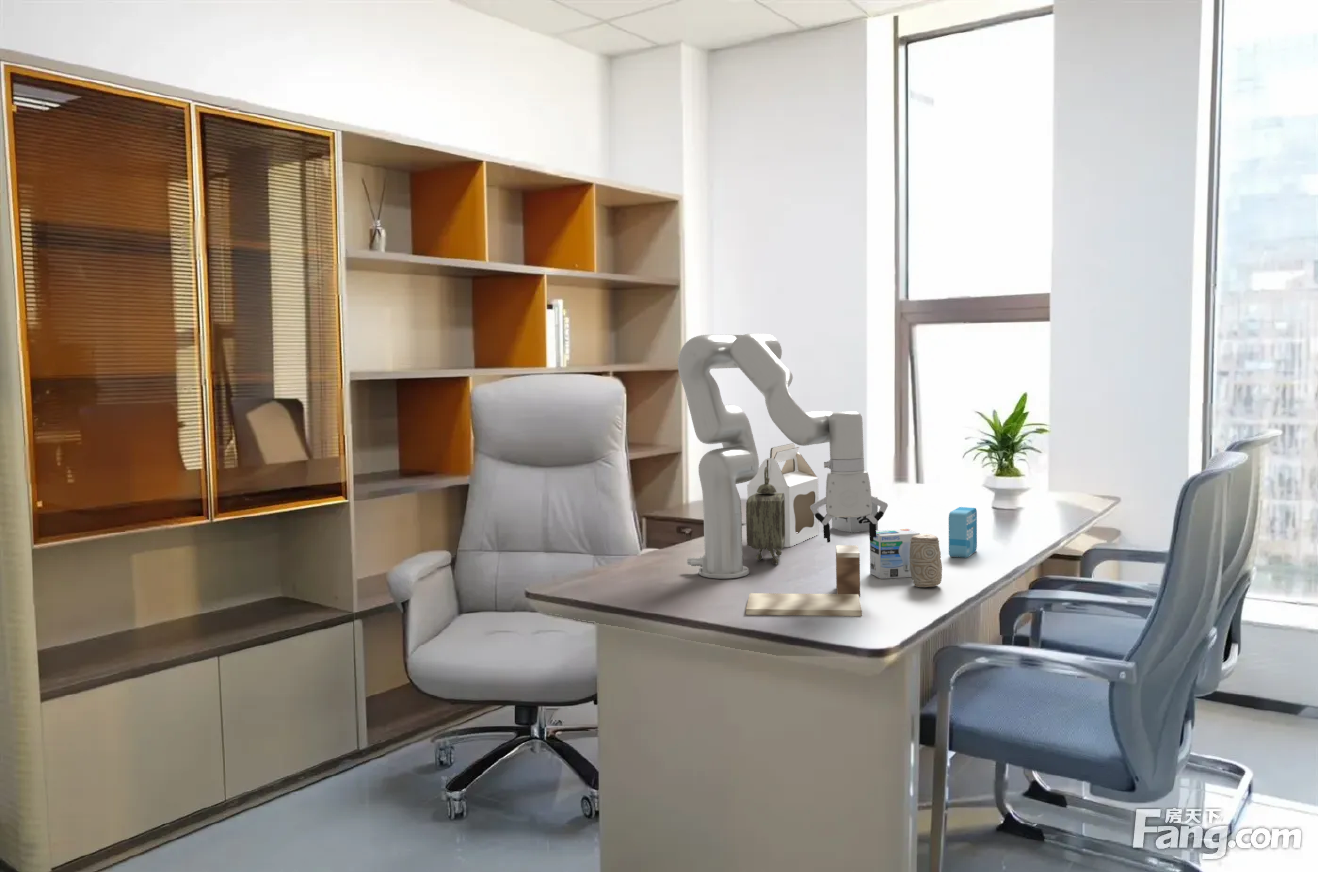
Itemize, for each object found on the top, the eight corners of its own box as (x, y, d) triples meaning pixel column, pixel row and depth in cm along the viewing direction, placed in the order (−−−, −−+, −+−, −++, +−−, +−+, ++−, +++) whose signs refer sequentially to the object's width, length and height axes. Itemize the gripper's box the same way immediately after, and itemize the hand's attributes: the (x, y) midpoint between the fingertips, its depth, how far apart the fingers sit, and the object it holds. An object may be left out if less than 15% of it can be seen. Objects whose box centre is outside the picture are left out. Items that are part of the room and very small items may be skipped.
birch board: (746, 614, 209) (746, 609, 209) (749, 598, 223) (749, 593, 223) (861, 616, 206) (861, 610, 205) (858, 599, 219) (858, 594, 219)
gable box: (789, 548, 280) (788, 449, 278) (747, 544, 287) (745, 448, 285) (819, 534, 299) (818, 442, 297) (779, 531, 306) (777, 441, 304)
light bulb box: (880, 579, 238) (879, 535, 237) (868, 573, 245) (868, 530, 244) (921, 576, 240) (921, 532, 239) (909, 570, 247) (908, 528, 246)
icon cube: (832, 528, 310) (831, 496, 309) (858, 524, 314) (857, 493, 313) (851, 532, 301) (850, 500, 300) (877, 529, 305) (877, 497, 304)
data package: (965, 559, 259) (965, 513, 258) (948, 557, 261) (948, 512, 260) (977, 550, 269) (977, 507, 268) (960, 549, 271) (960, 506, 270)
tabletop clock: (781, 566, 256) (779, 470, 254) (746, 565, 258) (744, 470, 256) (785, 555, 270) (784, 464, 268) (752, 554, 272) (750, 464, 270)
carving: (916, 582, 235) (916, 532, 234) (947, 585, 230) (946, 534, 229) (904, 587, 230) (904, 536, 229) (935, 591, 225) (935, 539, 224)
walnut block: (837, 596, 222) (836, 553, 222) (836, 587, 231) (835, 545, 231) (860, 597, 222) (859, 553, 221) (858, 587, 231) (857, 545, 230)
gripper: (808, 469, 222) (811, 544, 223) (887, 466, 219) (890, 543, 220) (808, 465, 229) (811, 539, 230) (884, 463, 226) (887, 537, 228)
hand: (850, 541), depth 225 cm, fingers open, 9 cm apart
